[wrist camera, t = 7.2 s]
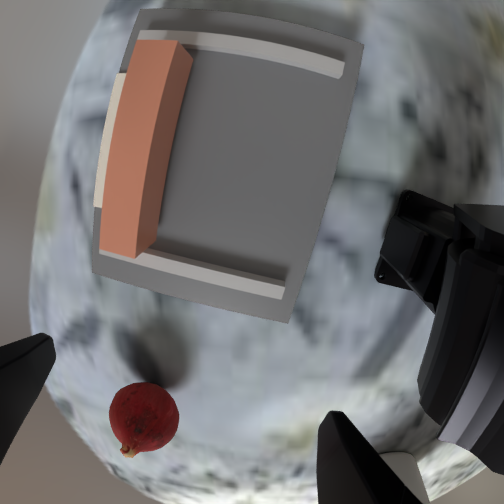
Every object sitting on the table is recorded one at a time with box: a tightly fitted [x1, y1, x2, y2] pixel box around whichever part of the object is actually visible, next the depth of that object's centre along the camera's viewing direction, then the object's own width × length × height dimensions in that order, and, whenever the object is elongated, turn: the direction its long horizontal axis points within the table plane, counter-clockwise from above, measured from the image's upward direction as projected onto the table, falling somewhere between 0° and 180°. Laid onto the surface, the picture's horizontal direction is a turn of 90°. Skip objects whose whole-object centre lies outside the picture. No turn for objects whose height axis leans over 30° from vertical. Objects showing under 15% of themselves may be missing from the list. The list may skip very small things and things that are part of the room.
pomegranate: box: [109, 382, 179, 458], centre depth 20 cm, size 6×6×8 cm
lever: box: [99, 40, 193, 259], centre depth 13 cm, size 2×10×3 cm, turn 167°
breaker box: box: [92, 9, 364, 323], centre depth 15 cm, size 13×17×3 cm
